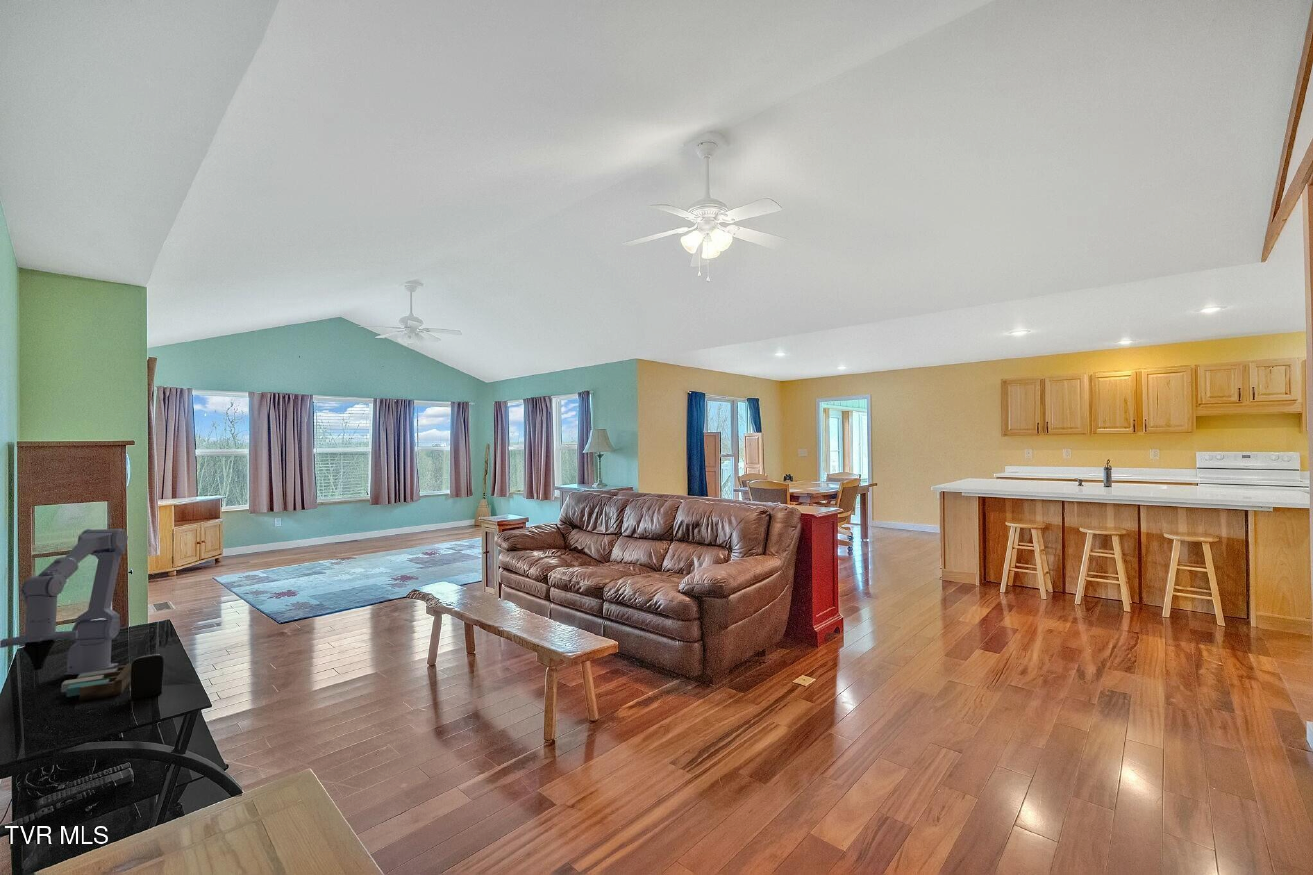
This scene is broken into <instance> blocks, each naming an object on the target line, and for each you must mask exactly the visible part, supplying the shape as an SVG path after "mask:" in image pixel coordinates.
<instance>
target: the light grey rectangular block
mask: <svg viewBox="0 0 1313 875" xmlns="http://www.w3.org/2000/svg"><path fill="white" fill-rule="evenodd" d="M116 671H118V668H115V669H108V670H101V671H94V672H88V673H81V674H78V675H77V678H76V679H80V678H86V677H90V676H91V675H96V674H102V673H109V672H116Z"/></svg>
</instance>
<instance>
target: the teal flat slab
mask: <svg viewBox="0 0 1313 875" xmlns="http://www.w3.org/2000/svg"><path fill="white" fill-rule="evenodd" d="M108 682H110V679H106V680H99V681H93V682H86V683H80V684H73V685H70V686H69V687H68V688H67V692H66V697H67V698H69V697H75V696H80V687H82V686H89V685H95V684H101V683H108Z"/></svg>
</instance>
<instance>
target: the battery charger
mask: <svg viewBox="0 0 1313 875" xmlns="http://www.w3.org/2000/svg"><path fill="white" fill-rule="evenodd" d="M130 663H131V671H130V681H129V683H130V690H129V691H130V693H129V694H130V695H129V700H130V701H135V700H140V699H146V698H150V697H155V696H158V695H161V694H162V693H163V682H164V672H165V657H164V655H163V654H162V653H159V652H156V653H155V652H154V653H148V654H144V655H143V654H142V655H138V656H136V657H134V658H133V659H132V661H131V662H130Z"/></svg>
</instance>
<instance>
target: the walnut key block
mask: <svg viewBox="0 0 1313 875" xmlns="http://www.w3.org/2000/svg"><path fill="white" fill-rule="evenodd" d="M131 663H132V662H128V663H126V664H125V665H117V666H114V667H110V668H104V669H97V670H95V671H101V670H108V669H115V668H118V671H116V672H109V673H102V674H96V675H91V676H90V677H93V676H99V675H104V678H102V679H95V680H89V681H85V683H86V682H93V681H99V680H106V679H110V682H108V683H101V684H95V685H89V686H82V687H80V695H78V696H79V698H78V699H79V701H86V700H93V699H98V698H104V697H110V696H116V695H121V694H122V693H124V691H125V689H126V687H127V686H128V685H129V683H130V671H131Z"/></svg>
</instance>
